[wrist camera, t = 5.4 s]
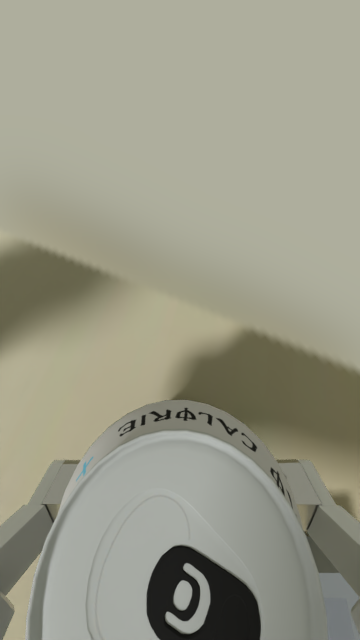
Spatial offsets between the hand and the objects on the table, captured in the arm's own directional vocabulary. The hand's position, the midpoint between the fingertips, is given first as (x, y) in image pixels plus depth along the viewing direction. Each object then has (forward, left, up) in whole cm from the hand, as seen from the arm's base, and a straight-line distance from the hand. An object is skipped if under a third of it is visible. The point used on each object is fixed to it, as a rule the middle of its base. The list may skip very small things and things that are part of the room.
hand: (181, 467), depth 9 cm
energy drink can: (0, 0, -9) cm, 9 cm away
